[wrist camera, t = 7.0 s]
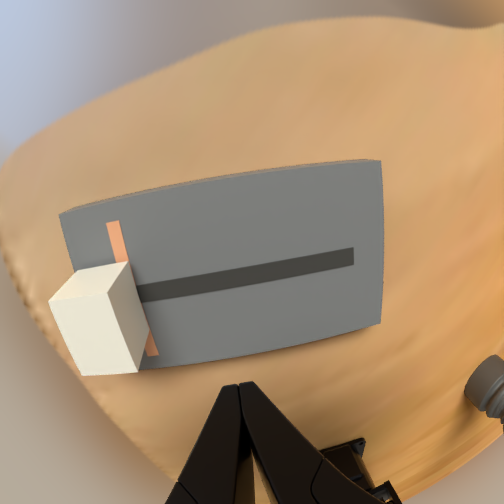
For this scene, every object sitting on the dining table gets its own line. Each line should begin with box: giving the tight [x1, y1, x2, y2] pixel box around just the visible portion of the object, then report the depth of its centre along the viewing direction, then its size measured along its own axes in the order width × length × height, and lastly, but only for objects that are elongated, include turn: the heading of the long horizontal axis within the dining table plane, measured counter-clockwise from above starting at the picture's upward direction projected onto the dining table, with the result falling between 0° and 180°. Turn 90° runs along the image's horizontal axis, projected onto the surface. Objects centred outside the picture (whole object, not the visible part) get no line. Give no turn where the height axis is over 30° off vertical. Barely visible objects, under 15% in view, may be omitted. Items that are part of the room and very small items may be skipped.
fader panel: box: [59, 159, 384, 370], centre depth 17 cm, size 10×17×2 cm, turn 98°
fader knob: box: [48, 261, 149, 376], centre depth 13 cm, size 4×3×4 cm
